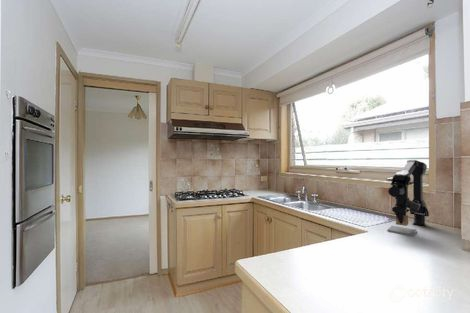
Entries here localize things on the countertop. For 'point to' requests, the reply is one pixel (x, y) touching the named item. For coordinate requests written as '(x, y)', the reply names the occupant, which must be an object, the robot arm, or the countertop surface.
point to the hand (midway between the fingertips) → (402, 222)
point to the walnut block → (405, 221)
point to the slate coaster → (402, 230)
